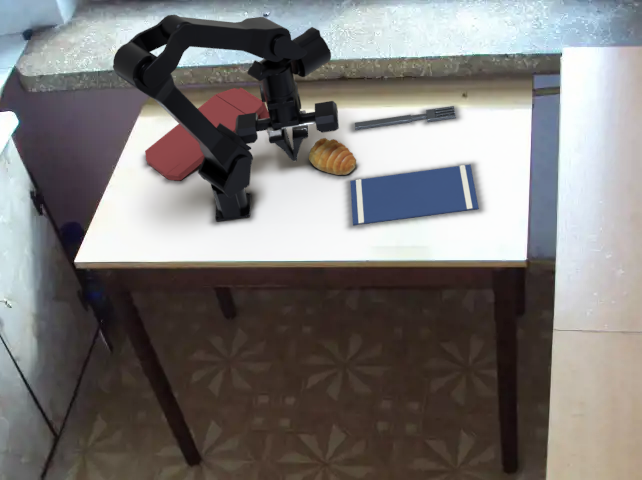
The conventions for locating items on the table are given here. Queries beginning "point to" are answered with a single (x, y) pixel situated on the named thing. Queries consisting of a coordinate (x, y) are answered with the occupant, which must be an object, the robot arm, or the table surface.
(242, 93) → the red angular block
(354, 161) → the pastry
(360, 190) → the napkin
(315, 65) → the robot arm
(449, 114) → the fork
